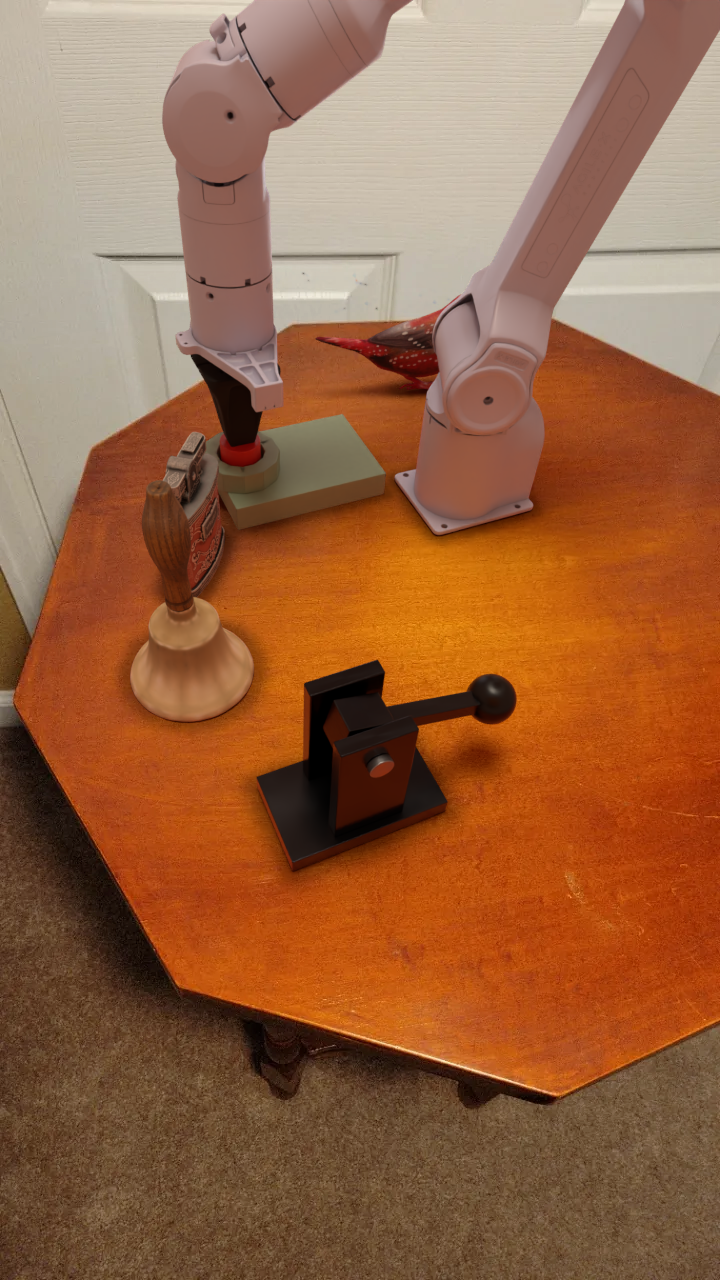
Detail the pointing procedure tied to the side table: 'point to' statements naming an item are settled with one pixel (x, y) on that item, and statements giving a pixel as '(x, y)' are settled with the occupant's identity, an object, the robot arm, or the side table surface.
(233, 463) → the button
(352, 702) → the black lever handle
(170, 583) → the hand bell
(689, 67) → the robot arm
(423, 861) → the side table surface
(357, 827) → the lever base
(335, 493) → the button box
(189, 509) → the lighter
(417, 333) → the decorative bird figurine
